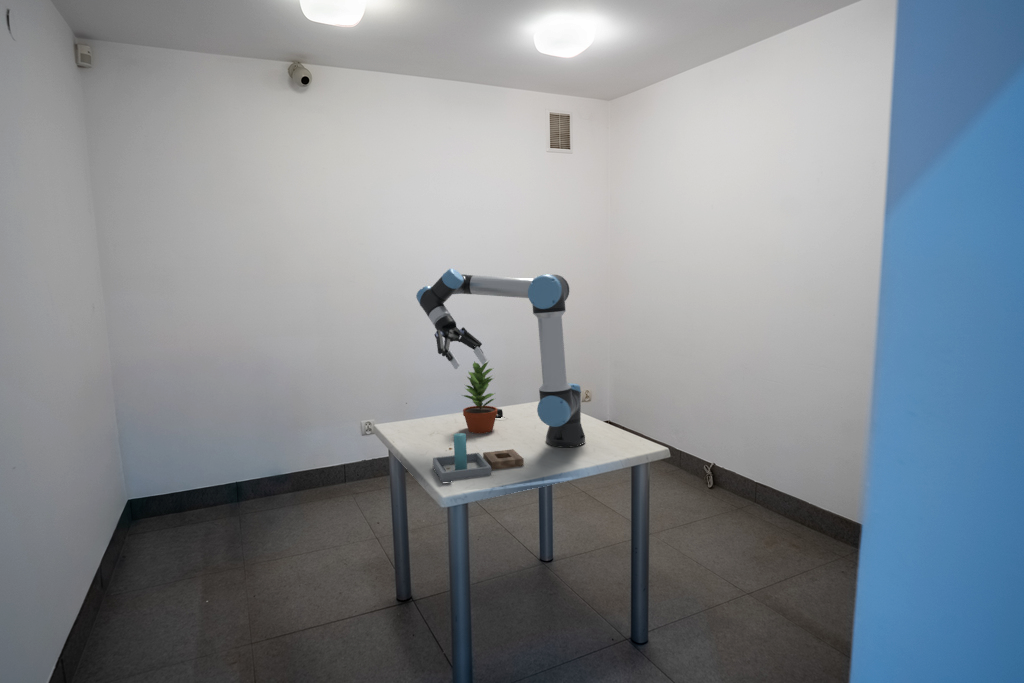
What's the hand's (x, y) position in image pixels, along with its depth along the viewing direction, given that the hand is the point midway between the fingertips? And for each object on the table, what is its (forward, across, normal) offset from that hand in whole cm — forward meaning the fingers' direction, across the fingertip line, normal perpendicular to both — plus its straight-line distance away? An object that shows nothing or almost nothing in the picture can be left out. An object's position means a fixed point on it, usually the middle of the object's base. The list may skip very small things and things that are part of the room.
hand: (471, 364), depth 205 cm
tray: (+32, +18, -14) cm, 39 cm away
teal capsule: (+31, +18, -14) cm, 39 cm away
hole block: (+36, +4, -10) cm, 38 cm away
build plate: (+4, -42, -43) cm, 61 cm away
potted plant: (+10, -22, -37) cm, 44 cm away
